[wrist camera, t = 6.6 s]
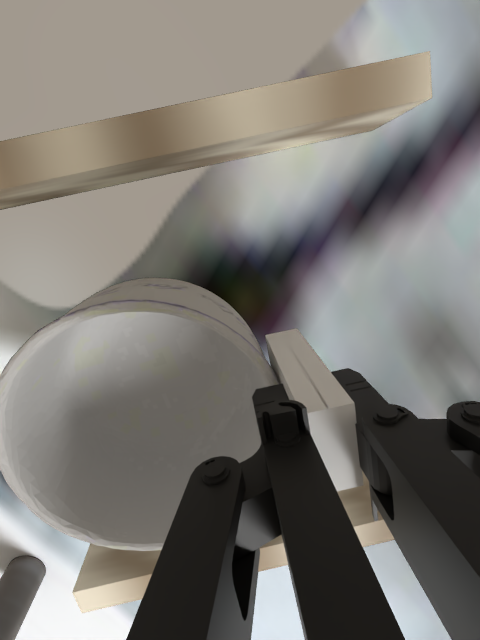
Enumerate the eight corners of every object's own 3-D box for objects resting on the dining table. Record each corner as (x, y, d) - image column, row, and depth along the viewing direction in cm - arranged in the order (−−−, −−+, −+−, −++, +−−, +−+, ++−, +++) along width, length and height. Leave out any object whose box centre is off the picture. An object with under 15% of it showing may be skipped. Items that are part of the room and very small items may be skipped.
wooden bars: (364, 33, 17) (570, -216, 7) (405, 496, 24) (530, 675, 15) (-213, 153, 16) (-823, 58, 7) (15, 587, 24) (-115, 832, 14)
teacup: (268, 273, 20) (306, 308, 12) (253, 444, 22) (276, 561, 15) (1, 258, 18) (-153, 287, 11) (21, 442, 21) (-87, 569, 13)
